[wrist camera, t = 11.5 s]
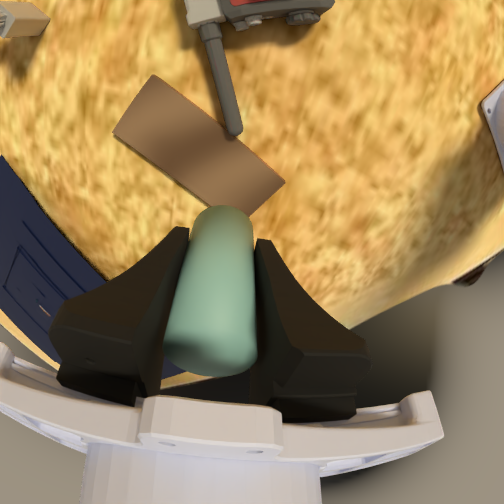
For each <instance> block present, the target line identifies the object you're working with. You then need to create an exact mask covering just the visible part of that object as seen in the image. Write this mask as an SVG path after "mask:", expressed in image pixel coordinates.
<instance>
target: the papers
mask: <svg viewBox="0 0 504 504" xmlns="http://www.w3.org/2000/svg"><path fill="white" fill-rule="evenodd" d="M105 283H107V282H106V281H105V280H104V279H103V278H102V277H101V276H100V275H99V274H98V273H97V272H96V271H95V270H94V269H93V268H92V267H91V266H90V265H89V264H88V263H87V262H86V261H85V260H84V259H83V258H82V257H81V256H80V255H79V254H78V252H77V251H76V250H75V249H74V248H73V247H72V246H71V245H70V244H69V242H68V241H67V240H66V239H65V238H64V237H63V236H62V234H61V233H60V232H59V231H58V230H57V229H56V227H55V226H54V225H53V224H52V223H51V221H50V220H49V219H48V218H47V217H46V215H45V214H44V213H43V212H42V210H41V209H40V208H39V206H38V205H37V203H36V201H35V200H34V199H33V197H32V196H31V195H30V193H29V192H28V190H27V189H26V188H25V186H24V185H23V183H22V182H21V180H20V179H19V178H18V176H17V175H16V174H15V173H14V172H13V170H12V169H11V168H10V166H9V165H8V163H7V162H6V161H5V159H4V158H3V156H2V155H1V156H0V309H1V310H2V311H3V312H4V313H5V314H6V315H7V316H8V318H9V319H10V320H11V321H12V322H13V323H14V324H15V325H16V326H17V327H18V328H19V329H20V330H21V331H22V332H23V333H24V334H25V335H26V336H27V337H28V338H29V339H30V340H31V341H32V342H33V343H34V344H35V345H37V346H38V347H39V348H40V349H41V350H42V351H43V352H44V353H45V354H47V355H48V356H49V357H50V358H51V359H52V360H53V361H55V362H57V363H58V364H60V365H61V363H62V360H61V358H60V357H59V355H58V353H57V352H56V350H55V349H54V347H53V345H52V343H51V341H50V339H49V336H48V330H49V328H50V326H51V324H52V322H53V320H54V318H55V316H56V314H57V312H58V310H59V308H60V307H61V305H62V304H63V302H64V301H65V300H68V299H71V298H73V297H76V296H79V295H81V294H84V293H86V292H89V291H91V290H93V289H95V288H97V287H99V286H101V285H103V284H105ZM183 372H186V371H185V370H183V369H181V368H179V367H177V366H176V365H174V364H173V363H172V362H170V361H169V360H168V359H167V357H166V356H164V362H163V369H162V377H161V380H162V379H165V378H168V377H171V376H174V375H177V374H180V373H183Z"/></svg>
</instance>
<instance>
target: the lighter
mask: <svg viewBox="0 0 504 504" xmlns="http://www.w3.org/2000/svg"><path fill="white" fill-rule="evenodd" d="M49 21H50V18H49V17H48V16H47V15H45V14H44V13H43V12H42V11H41V10H39V9H38V8H37V7H36V6H34V5H33V4H32V3H29V2H9V1H0V36H1V37H2V38H11V37H23V36H39V35H40V34H41V33H42V31H43V30H44V28H45V27H46V25H47V24H48V23H49Z"/></svg>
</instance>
